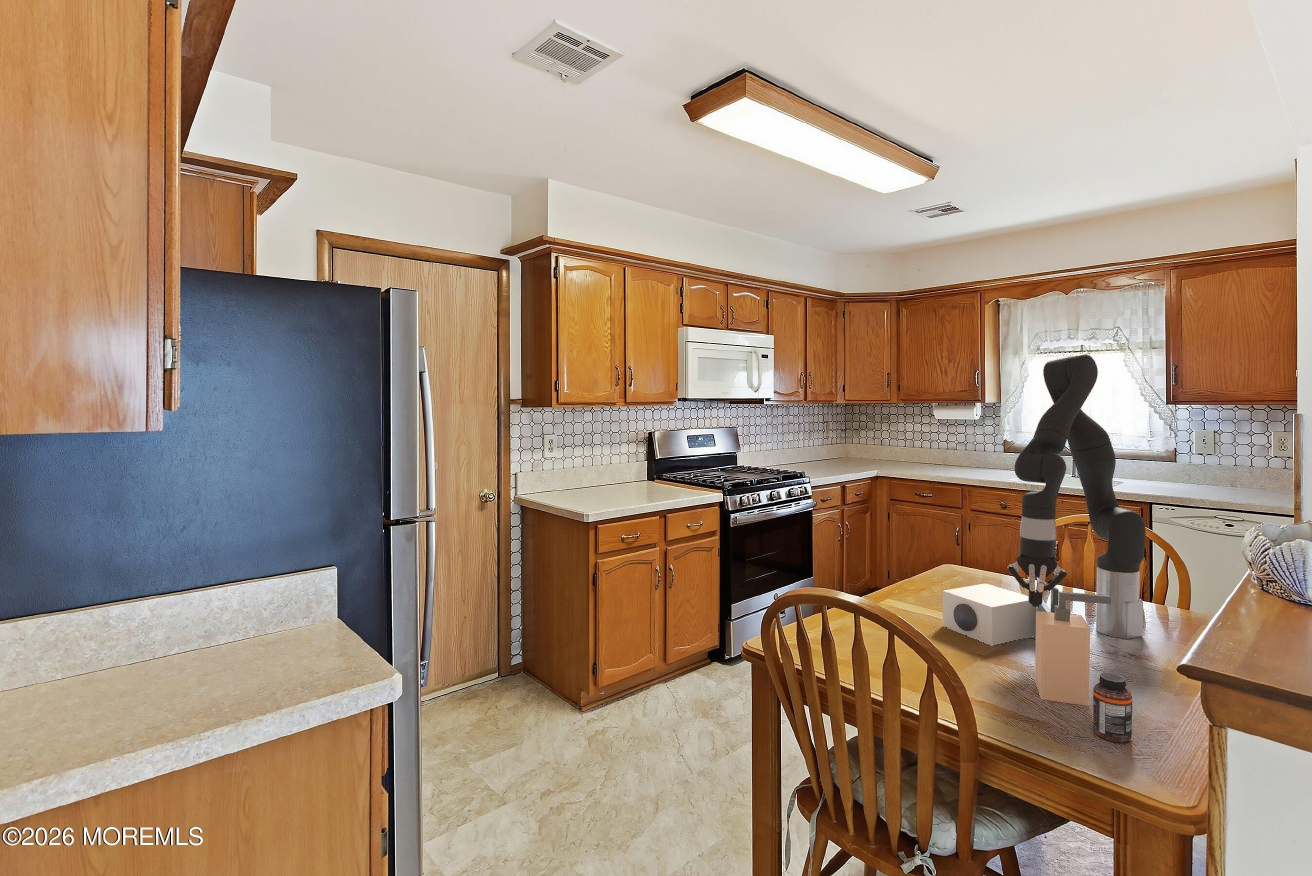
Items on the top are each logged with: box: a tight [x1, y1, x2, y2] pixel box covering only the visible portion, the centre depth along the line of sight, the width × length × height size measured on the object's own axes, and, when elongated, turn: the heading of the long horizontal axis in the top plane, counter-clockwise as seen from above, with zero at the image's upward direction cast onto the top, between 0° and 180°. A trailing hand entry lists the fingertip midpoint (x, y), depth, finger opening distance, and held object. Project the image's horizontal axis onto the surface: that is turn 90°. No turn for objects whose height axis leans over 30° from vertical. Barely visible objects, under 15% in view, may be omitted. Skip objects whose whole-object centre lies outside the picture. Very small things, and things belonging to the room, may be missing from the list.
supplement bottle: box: [1092, 672, 1133, 744], centre depth 121 cm, size 6×6×11 cm
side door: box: [1037, 586, 1060, 613], centre depth 163 cm, size 2×16×17 cm, turn 160°
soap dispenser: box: [1034, 591, 1111, 707], centre depth 137 cm, size 13×9×22 cm
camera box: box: [942, 582, 1037, 647], centre depth 175 cm, size 16×17×10 cm
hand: (1035, 605), depth 158 cm, fingers closed
